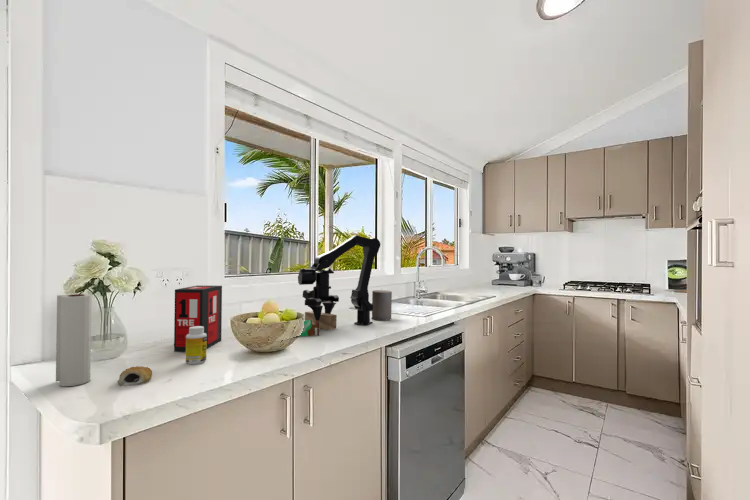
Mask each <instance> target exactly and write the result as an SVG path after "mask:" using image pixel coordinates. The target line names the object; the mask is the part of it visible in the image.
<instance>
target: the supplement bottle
mask: <svg viewBox="0 0 750 500" xmlns="http://www.w3.org/2000/svg"><path fill="white" fill-rule="evenodd" d="M203 332H204V327H203V326H193V327H190V328H189V333H190V334H187V335H186V352H185V363H186V364H187V365H200V364H203V363H205V362H206V361H207V353H208V352H207V350H208V349H207V334H206V333H203Z"/></svg>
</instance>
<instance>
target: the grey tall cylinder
mask: <svg viewBox="0 0 750 500" xmlns="http://www.w3.org/2000/svg"><path fill="white" fill-rule="evenodd" d="M91 338H92V294H82V293H80V294H65V295H61V294H59V295H58V294H57V295H56V337H55V339H56V343H55V344H56V345H55V348H56V349H55V351H56V353H55V355H56V356H55V382H58V383H59V386H61V387H73V386H74V387H75V386H80V385H84V384H86V383H89V382H90V381H91V355H92V354H91V349H92V347H91V346H92V339H91Z"/></svg>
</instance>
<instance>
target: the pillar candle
mask: <svg viewBox="0 0 750 500" xmlns="http://www.w3.org/2000/svg"><path fill="white" fill-rule="evenodd" d="M371 293H372V295H371V297H372V299H371V304H372V305H373V310H372V311H371V319H372V320H374V321H390V319H391V320H392V302H393V301H392V296H393V291H391V290H384V289H376V290H372V292H371Z"/></svg>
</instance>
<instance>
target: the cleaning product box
mask: <svg viewBox="0 0 750 500" xmlns="http://www.w3.org/2000/svg"><path fill="white" fill-rule="evenodd" d="M222 306H223V286H222V285H193V286H187V287H183V288H177V289H174V320H173V321H174V324H173V325H174V327H173V328H174V332H173V333H174V334H173V335H174V336H173V346H174V347H173V352H174V353H186V335H187V334H190V333H189V328H190V327H193V326H203V327H204V332H203V333H206V334H207V350H208V349H210V348H212V347H214V346H216V345H217V344H218V342H219V343H220V342H222V324H223V323H222V315H223V314H222V312H223V310H222V309H223V307H222Z"/></svg>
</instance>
